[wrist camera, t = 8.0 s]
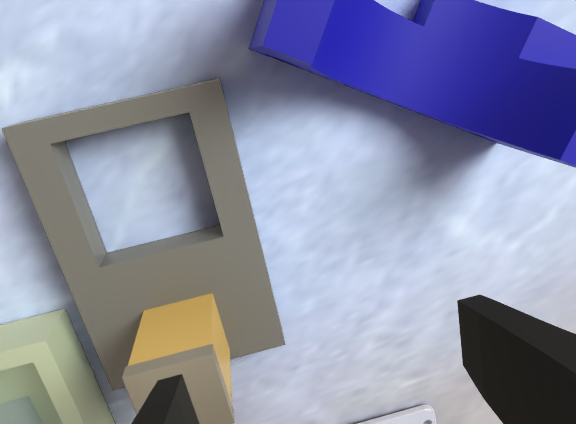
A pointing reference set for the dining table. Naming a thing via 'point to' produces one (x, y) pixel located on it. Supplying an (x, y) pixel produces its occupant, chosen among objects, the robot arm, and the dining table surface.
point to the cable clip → (440, 64)
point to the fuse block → (158, 256)
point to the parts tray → (50, 370)
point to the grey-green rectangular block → (19, 412)
